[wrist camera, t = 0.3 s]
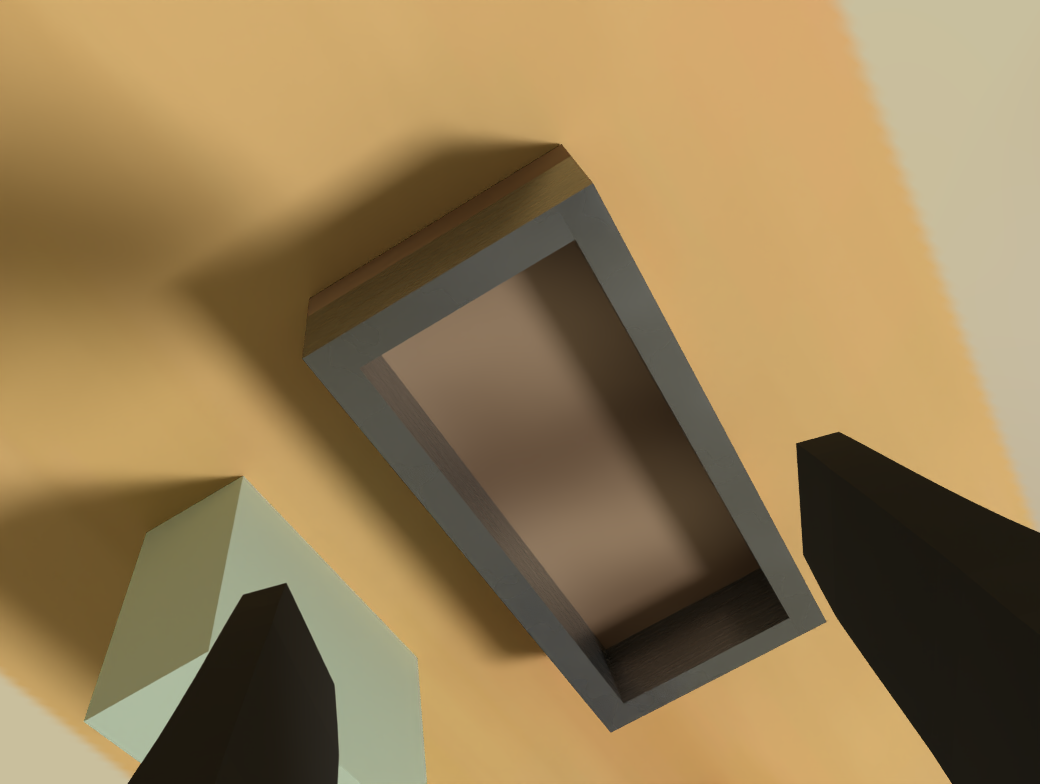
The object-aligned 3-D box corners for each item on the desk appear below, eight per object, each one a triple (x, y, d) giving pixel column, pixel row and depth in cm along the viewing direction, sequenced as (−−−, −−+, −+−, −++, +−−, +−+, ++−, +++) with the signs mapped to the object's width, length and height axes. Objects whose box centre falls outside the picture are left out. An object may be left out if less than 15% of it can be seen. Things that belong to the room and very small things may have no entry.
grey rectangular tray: (780, 549, 26) (826, 621, 24) (586, 652, 27) (610, 732, 24) (561, 144, 19) (592, 183, 17) (309, 298, 20) (302, 358, 17)
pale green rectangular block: (416, 655, 26) (431, 844, 21) (332, 701, 26) (326, 898, 21) (243, 474, 22) (208, 651, 17) (146, 531, 22) (84, 721, 17)
